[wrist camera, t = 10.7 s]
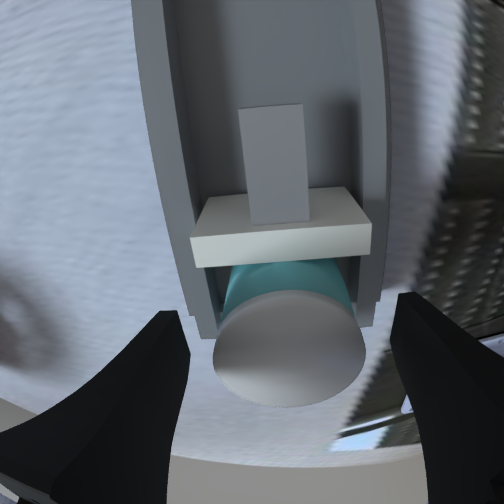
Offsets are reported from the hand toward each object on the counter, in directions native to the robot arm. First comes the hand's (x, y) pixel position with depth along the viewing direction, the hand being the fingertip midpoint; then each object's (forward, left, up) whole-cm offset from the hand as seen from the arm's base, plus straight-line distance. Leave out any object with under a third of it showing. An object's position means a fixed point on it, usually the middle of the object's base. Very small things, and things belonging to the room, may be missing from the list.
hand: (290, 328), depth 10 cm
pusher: (0, -4, -6) cm, 7 cm away
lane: (0, -6, -8) cm, 9 cm away
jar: (0, +1, -6) cm, 6 cm away
